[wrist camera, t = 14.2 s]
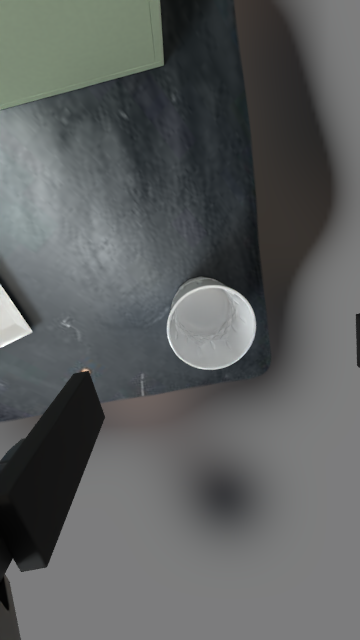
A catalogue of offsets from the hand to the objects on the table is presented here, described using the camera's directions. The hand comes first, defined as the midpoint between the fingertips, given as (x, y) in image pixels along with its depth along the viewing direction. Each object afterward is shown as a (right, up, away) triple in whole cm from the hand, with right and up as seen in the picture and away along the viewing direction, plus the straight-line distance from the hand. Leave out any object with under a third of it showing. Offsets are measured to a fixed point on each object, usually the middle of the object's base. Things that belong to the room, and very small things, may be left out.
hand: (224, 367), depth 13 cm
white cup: (0, +4, +20) cm, 21 cm away
